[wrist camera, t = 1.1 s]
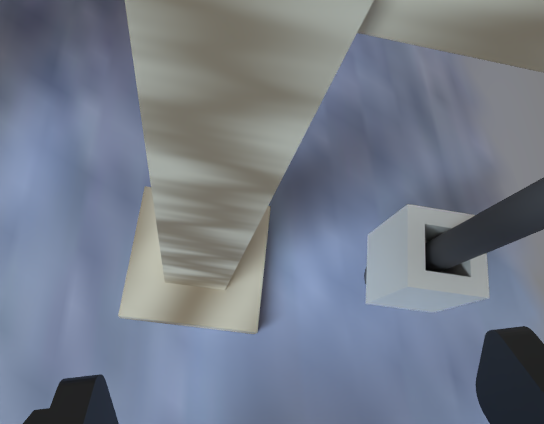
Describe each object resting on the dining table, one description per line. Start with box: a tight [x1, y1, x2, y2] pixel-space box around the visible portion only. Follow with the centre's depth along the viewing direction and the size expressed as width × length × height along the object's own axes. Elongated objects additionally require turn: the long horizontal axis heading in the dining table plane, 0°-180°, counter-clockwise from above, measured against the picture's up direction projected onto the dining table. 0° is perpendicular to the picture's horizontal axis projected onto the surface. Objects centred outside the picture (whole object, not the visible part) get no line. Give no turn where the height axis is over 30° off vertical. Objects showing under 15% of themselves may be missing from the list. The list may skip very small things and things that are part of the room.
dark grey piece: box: [364, 178, 544, 284], centre depth 22 cm, size 4×4×24 cm
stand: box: [118, 0, 544, 334], centre depth 21 cm, size 18×9×29 cm, turn 84°
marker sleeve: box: [366, 204, 489, 313], centre depth 29 cm, size 5×5×6 cm
